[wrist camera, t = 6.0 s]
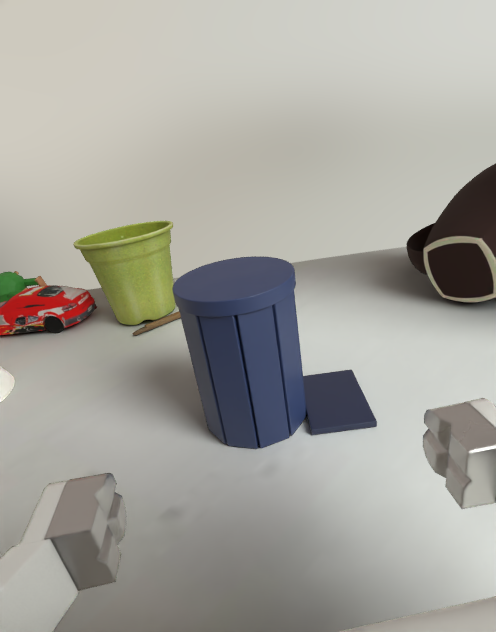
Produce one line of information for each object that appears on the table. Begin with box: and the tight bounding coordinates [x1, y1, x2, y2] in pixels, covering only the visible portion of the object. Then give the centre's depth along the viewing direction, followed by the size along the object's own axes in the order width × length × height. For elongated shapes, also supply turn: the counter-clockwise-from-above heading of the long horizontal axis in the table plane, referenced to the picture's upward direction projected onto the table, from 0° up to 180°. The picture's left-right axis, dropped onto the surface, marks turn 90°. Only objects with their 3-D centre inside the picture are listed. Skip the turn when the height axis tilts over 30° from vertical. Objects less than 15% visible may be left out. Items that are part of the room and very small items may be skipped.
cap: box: [172, 257, 377, 449], centre depth 22 cm, size 10×6×9 cm, turn 91°
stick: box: [133, 311, 181, 336], centre depth 38 cm, size 7×1×1 cm, turn 125°
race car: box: [0, 286, 97, 335], centre depth 42 cm, size 13×5×4 cm, turn 85°
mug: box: [407, 164, 496, 302], centre depth 35 cm, size 10×14×12 cm
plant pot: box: [74, 221, 175, 325], centre depth 39 cm, size 9×9×9 cm
